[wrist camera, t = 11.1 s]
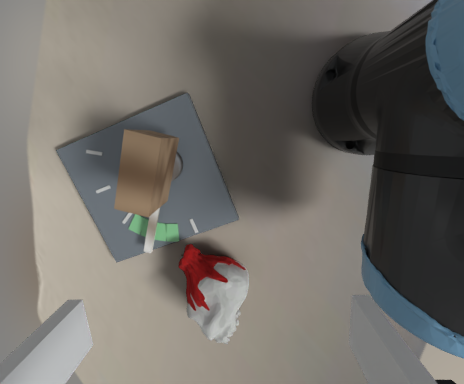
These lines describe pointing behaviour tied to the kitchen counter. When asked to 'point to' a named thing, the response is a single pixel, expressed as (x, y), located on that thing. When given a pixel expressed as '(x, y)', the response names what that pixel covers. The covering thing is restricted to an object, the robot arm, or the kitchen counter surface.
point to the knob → (147, 175)
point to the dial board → (181, 189)
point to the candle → (214, 292)
